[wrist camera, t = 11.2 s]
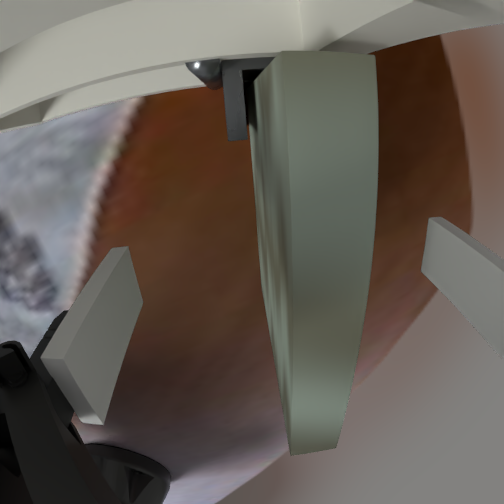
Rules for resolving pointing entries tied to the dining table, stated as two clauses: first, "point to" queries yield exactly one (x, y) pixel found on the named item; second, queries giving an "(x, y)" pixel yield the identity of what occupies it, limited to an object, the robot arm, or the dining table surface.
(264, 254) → the cabinet door
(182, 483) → the dining table surface
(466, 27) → the cabinet
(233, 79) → the hinge clip
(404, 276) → the dining table surface
